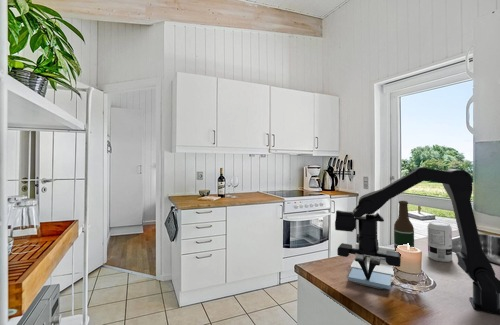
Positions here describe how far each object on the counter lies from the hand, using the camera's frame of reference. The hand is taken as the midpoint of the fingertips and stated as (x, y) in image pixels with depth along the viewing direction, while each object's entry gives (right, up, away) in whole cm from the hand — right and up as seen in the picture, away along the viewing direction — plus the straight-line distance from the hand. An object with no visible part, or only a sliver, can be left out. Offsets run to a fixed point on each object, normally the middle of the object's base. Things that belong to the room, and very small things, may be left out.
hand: (368, 279), depth 84 cm
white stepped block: (+8, -3, +12) cm, 14 cm away
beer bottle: (+29, -2, +28) cm, 40 cm away
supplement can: (+41, -2, +23) cm, 47 cm away
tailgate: (+4, -1, +6) cm, 7 cm away
